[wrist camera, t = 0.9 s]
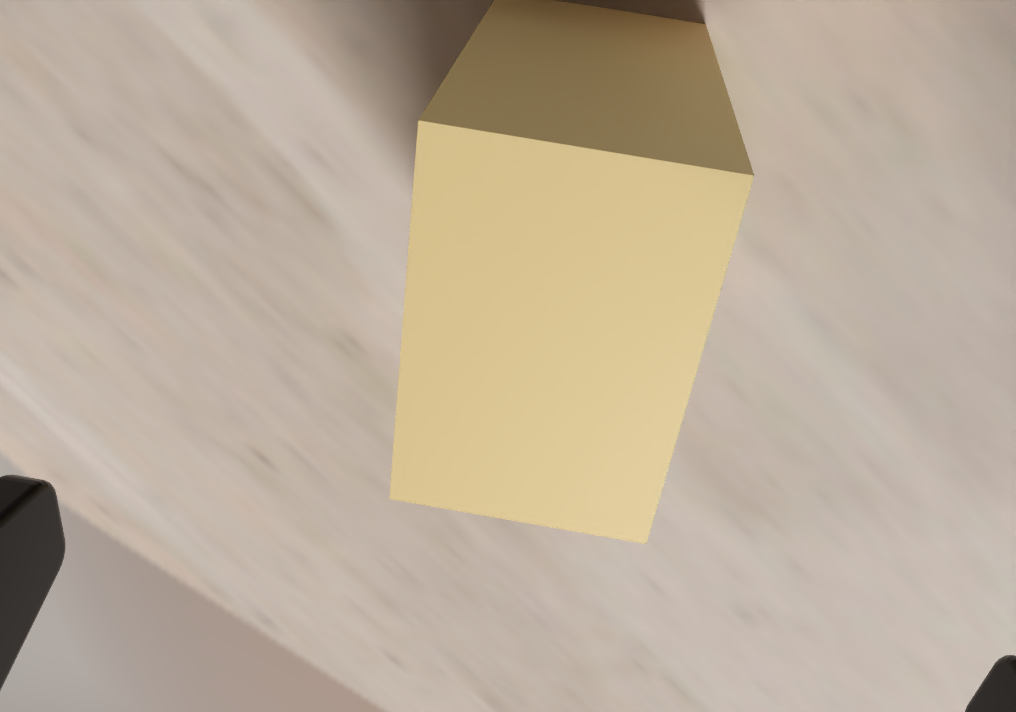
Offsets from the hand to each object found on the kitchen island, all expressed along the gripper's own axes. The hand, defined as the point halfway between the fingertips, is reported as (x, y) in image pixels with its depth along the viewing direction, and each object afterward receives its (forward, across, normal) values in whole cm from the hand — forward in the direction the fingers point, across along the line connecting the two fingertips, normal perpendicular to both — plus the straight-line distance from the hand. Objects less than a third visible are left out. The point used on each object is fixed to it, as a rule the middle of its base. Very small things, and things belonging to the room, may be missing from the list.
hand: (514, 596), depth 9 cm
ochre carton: (+12, 0, 0) cm, 12 cm away
